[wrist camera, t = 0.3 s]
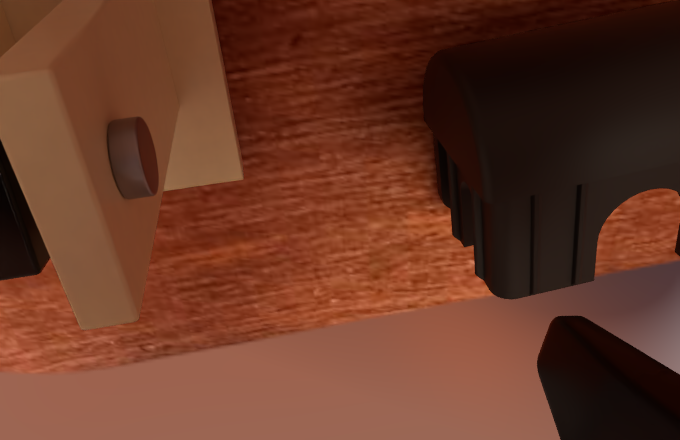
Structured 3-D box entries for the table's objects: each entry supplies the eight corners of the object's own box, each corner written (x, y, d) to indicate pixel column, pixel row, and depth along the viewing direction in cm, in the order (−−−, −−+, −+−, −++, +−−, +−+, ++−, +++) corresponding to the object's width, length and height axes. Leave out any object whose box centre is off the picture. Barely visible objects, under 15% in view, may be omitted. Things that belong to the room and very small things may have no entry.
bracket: (-140, -141, 15) (-747, -127, 6) (178, -173, 16) (105, -206, 6) (9, 198, 21) (-178, 498, 11) (243, 164, 21) (255, 417, 12)
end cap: (699, -38, 20) (886, 6, 14) (670, 151, 24) (808, 245, 18) (408, 23, 20) (482, 93, 14) (426, 206, 23) (489, 320, 18)
